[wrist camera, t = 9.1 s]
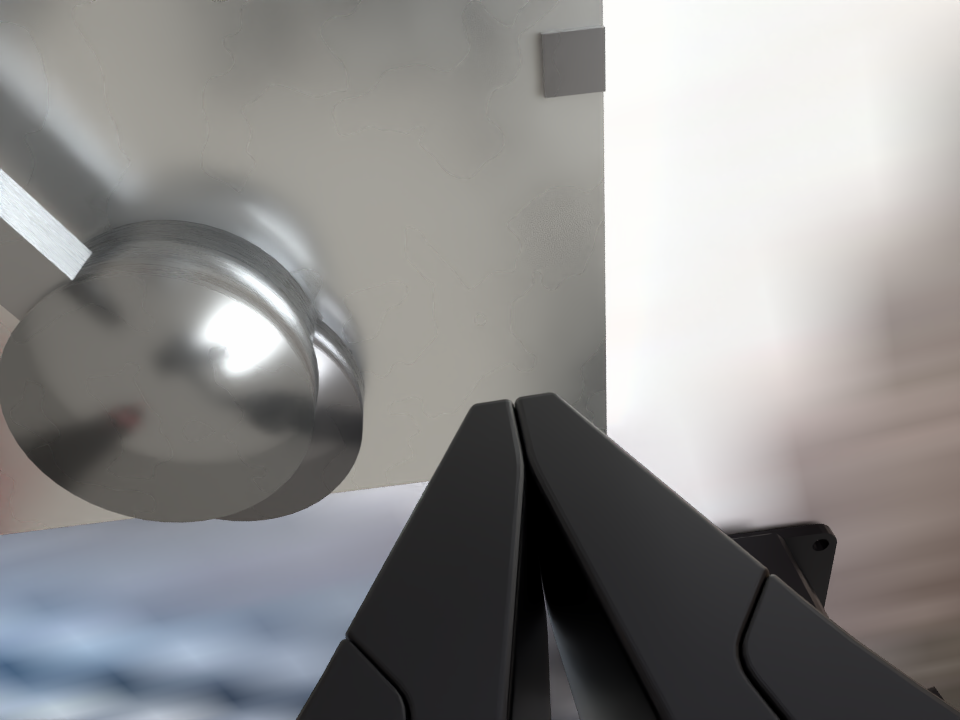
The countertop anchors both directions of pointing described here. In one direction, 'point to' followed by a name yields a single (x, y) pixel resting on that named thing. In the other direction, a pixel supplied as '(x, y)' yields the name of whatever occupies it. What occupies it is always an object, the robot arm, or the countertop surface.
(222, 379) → the capstan
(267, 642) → the countertop surface
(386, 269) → the level stand
